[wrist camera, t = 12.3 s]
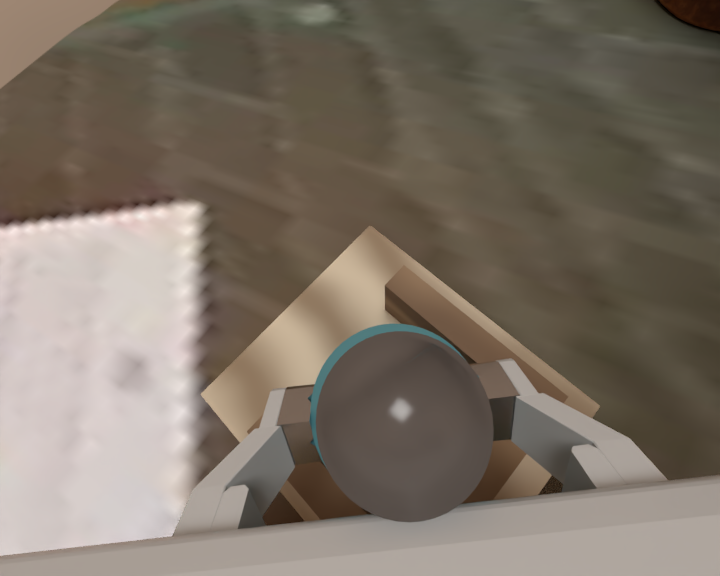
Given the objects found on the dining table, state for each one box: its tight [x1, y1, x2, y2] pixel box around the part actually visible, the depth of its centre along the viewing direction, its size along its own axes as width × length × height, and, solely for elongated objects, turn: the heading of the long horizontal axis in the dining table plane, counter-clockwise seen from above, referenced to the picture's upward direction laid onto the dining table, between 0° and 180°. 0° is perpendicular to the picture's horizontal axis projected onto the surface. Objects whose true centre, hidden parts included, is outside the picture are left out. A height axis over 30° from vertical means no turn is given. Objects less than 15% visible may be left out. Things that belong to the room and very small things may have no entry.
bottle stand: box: [201, 226, 600, 521], centre depth 17 cm, size 16×18×6 cm
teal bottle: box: [310, 324, 494, 522], centre depth 11 cm, size 5×5×12 cm
